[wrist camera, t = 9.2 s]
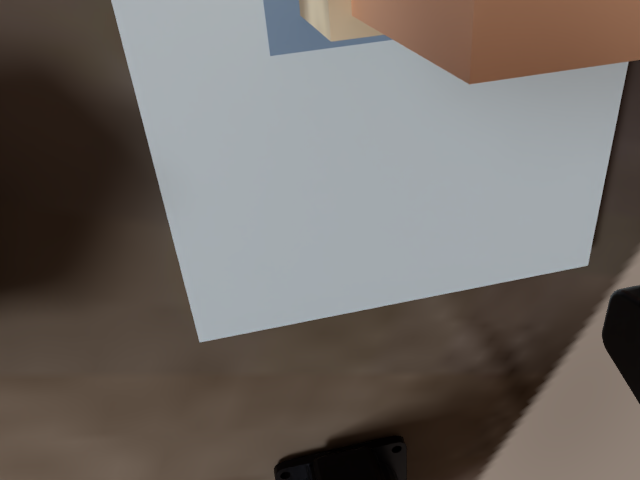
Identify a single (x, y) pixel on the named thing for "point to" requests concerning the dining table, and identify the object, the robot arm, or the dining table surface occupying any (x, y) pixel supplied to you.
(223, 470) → the dining table surface
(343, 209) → the blueprint board
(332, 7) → the birch base block
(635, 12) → the terracotta block
